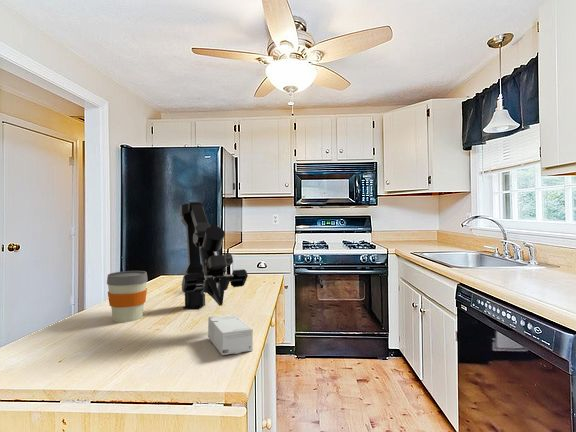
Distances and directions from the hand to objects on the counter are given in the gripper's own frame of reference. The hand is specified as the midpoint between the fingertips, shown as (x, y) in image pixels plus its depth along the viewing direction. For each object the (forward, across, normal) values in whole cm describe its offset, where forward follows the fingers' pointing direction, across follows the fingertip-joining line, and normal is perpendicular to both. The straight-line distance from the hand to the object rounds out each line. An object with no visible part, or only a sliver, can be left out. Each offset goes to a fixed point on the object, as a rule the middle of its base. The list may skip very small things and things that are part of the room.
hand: (221, 304), depth 101 cm
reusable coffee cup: (-16, -23, +29) cm, 41 cm away
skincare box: (+4, 0, +5) cm, 6 cm away
